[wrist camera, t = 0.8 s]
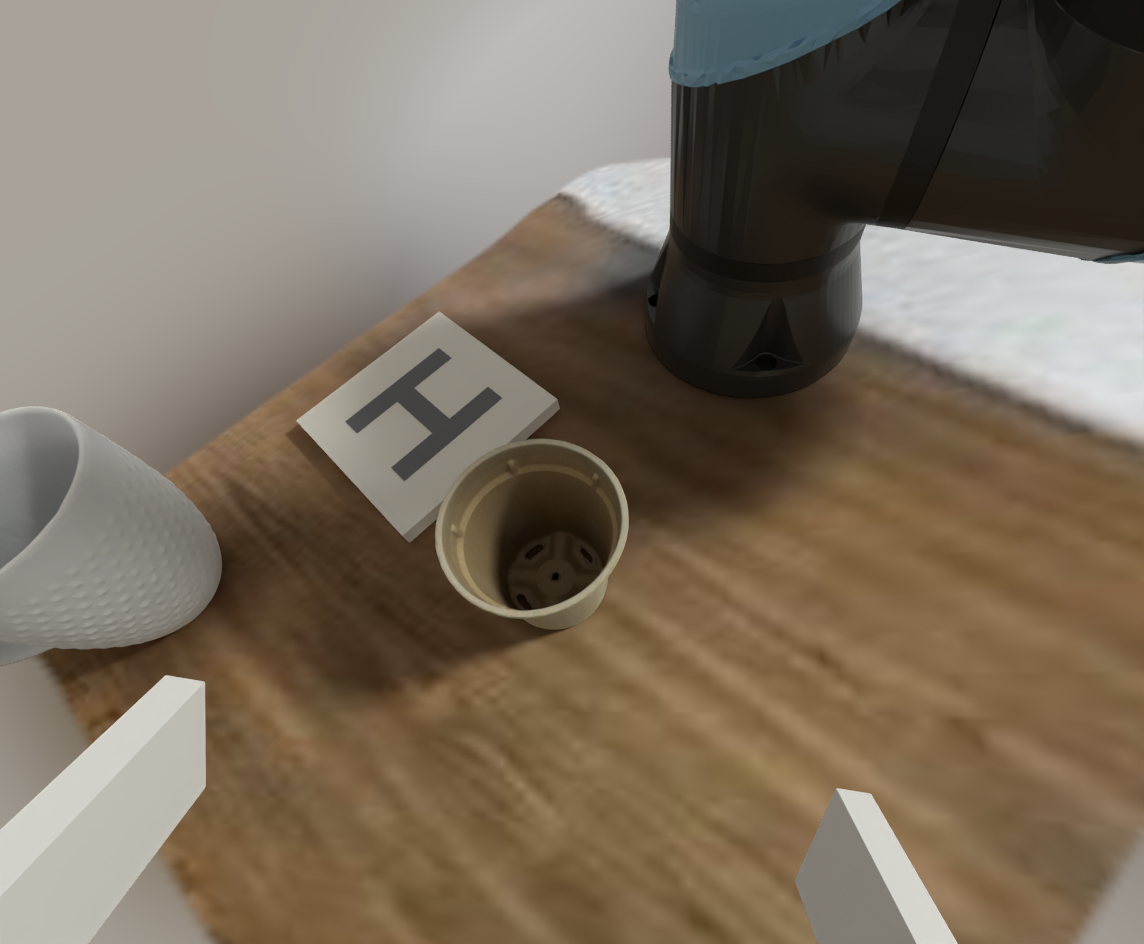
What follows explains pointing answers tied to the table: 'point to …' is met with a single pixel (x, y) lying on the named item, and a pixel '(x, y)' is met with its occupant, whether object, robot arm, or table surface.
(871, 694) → the table surface
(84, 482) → the mug
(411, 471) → the letter board
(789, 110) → the robot arm
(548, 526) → the flower pot
